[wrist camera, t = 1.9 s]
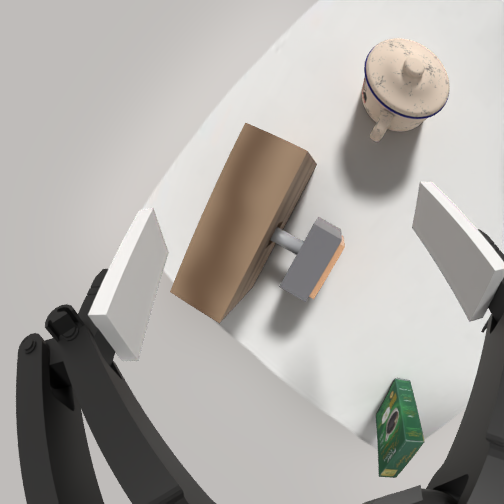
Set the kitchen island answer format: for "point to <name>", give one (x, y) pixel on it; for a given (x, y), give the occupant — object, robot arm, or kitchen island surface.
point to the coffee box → (398, 429)
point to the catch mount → (242, 221)
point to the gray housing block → (310, 257)
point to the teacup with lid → (402, 86)
